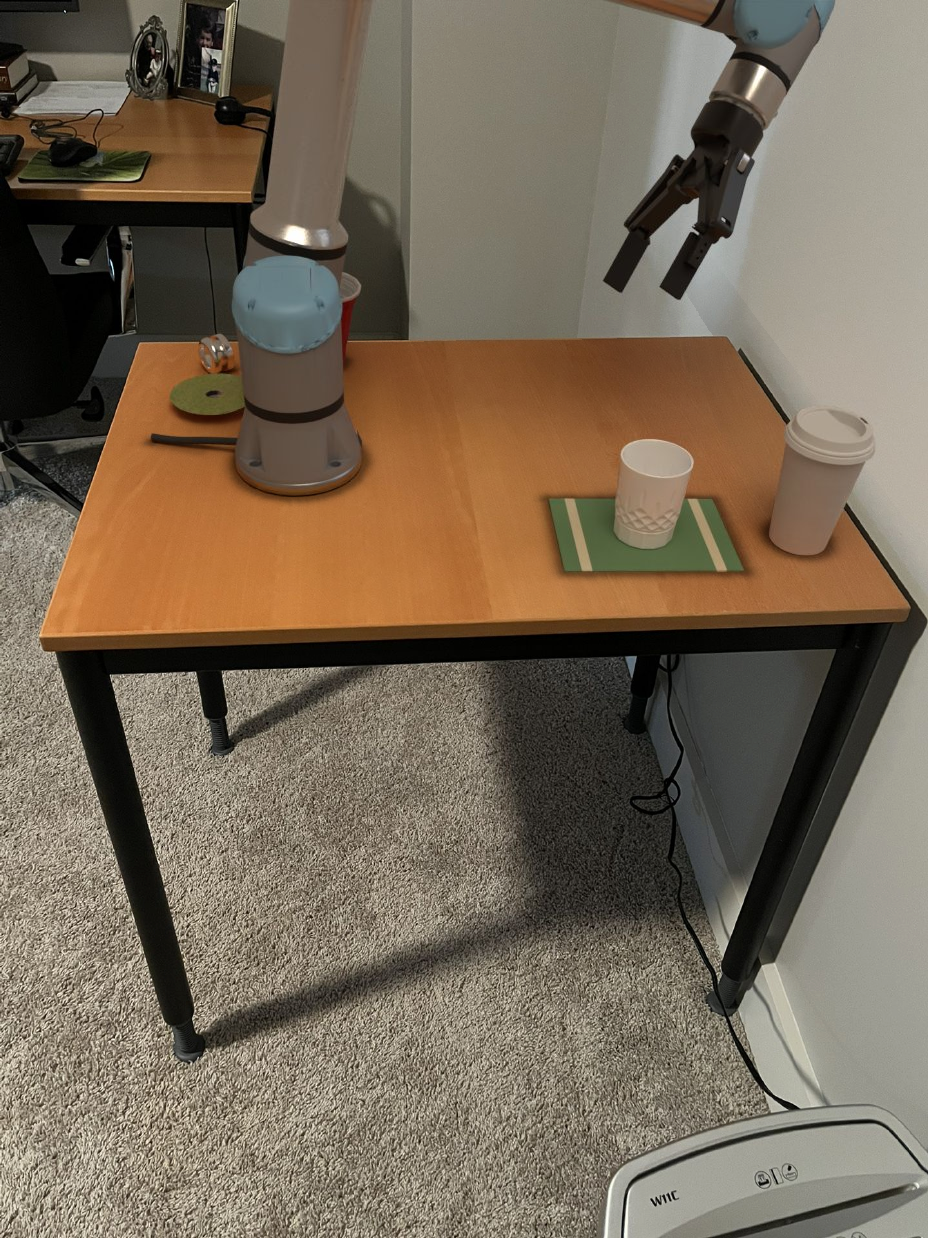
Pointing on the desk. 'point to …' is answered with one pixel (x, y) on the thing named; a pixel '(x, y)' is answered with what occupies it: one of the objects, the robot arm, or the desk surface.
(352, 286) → the plastic cup
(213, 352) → the metal grooved wheel
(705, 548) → the cloth
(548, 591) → the desk surface
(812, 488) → the coffee cup
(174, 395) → the green sanding disc
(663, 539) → the white cup
